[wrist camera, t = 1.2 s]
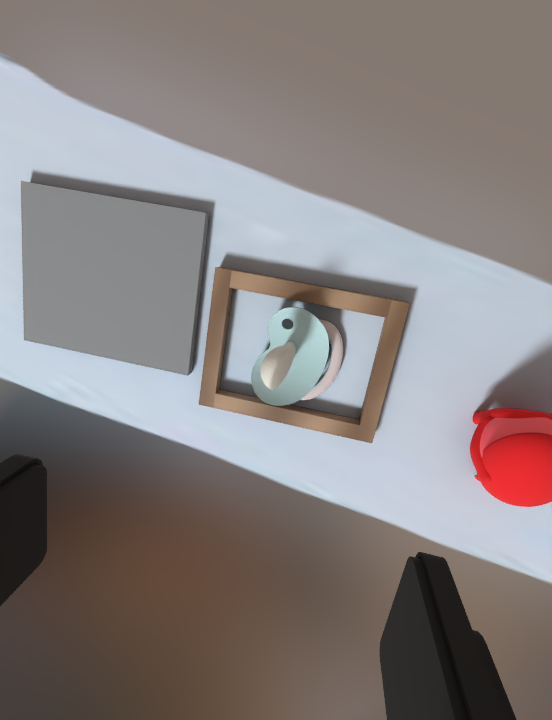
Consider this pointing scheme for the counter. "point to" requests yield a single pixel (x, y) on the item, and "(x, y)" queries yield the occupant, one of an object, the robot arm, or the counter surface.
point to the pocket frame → (311, 294)
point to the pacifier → (297, 358)
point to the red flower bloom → (514, 455)
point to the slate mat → (112, 276)
